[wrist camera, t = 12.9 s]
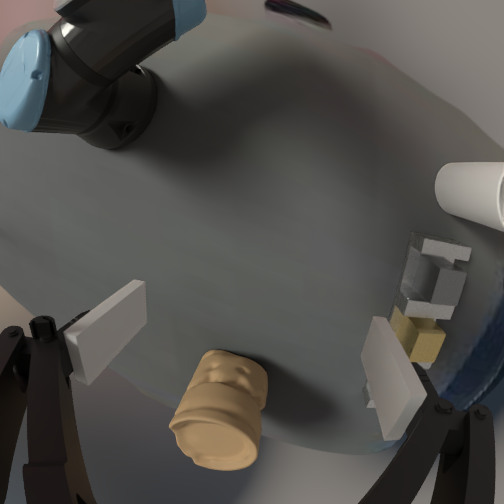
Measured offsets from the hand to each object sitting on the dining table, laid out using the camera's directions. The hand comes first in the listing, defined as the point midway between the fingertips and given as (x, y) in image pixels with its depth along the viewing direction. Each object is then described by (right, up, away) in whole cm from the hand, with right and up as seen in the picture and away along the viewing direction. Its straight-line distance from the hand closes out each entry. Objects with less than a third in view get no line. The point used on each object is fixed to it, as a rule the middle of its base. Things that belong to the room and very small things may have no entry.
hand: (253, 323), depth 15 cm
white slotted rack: (+26, -8, +26) cm, 38 cm away
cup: (+31, +14, +20) cm, 40 cm away
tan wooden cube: (+26, -8, +25) cm, 38 cm away
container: (-3, -17, +33) cm, 38 cm away
